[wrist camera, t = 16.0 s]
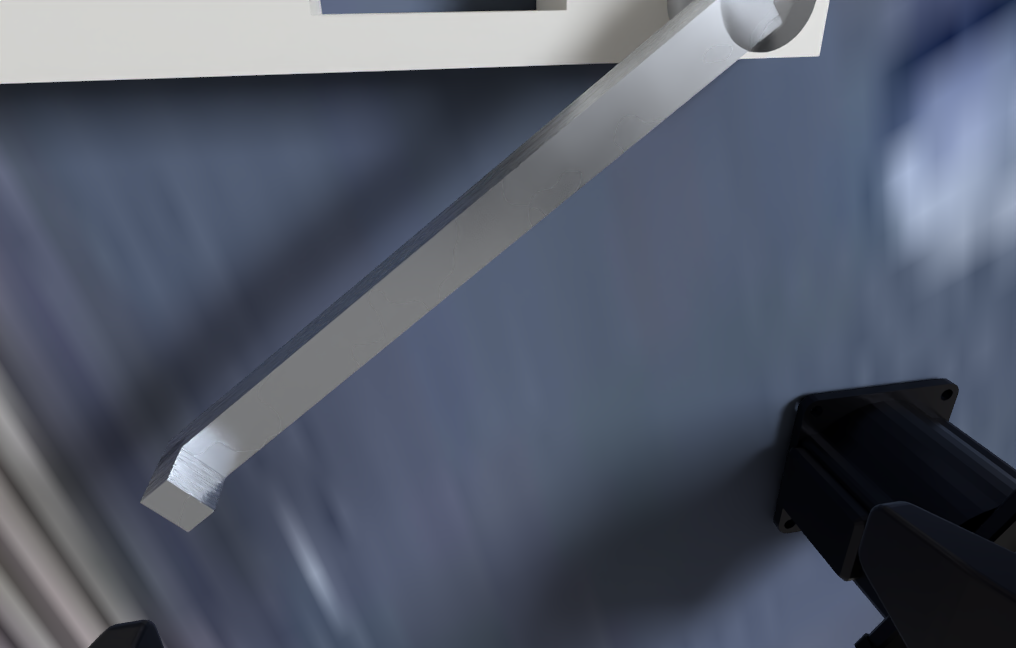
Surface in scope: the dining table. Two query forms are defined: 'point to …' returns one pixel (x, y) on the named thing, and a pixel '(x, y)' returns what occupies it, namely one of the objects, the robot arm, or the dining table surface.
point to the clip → (465, 240)
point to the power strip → (322, 37)
